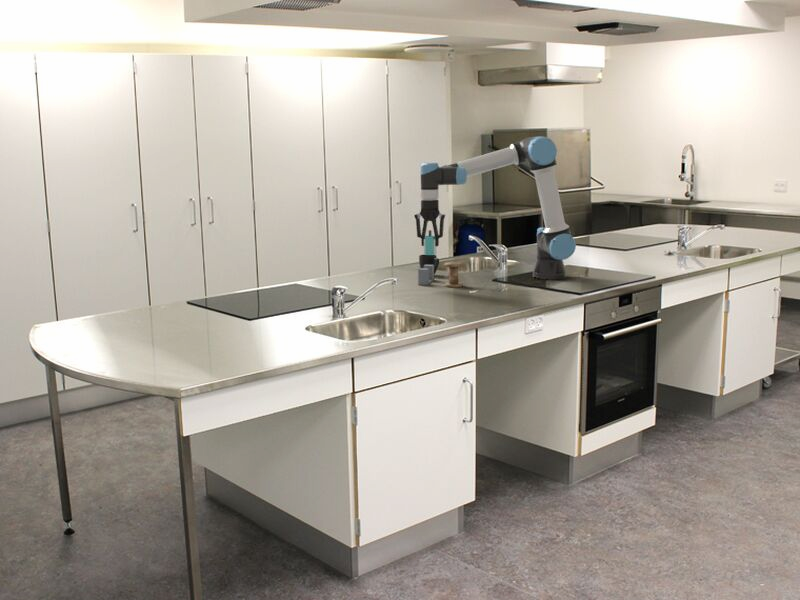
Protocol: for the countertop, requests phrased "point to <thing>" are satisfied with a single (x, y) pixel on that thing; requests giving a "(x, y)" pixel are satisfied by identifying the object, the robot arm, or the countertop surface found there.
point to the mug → (429, 261)
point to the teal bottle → (429, 244)
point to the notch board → (426, 275)
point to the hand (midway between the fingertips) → (430, 253)
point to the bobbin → (453, 274)
